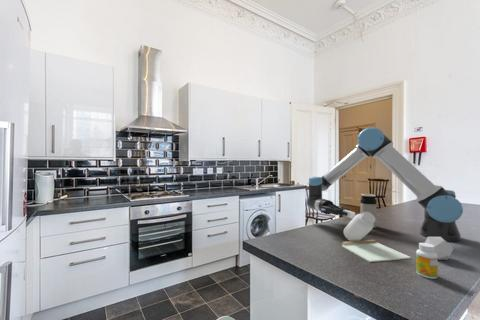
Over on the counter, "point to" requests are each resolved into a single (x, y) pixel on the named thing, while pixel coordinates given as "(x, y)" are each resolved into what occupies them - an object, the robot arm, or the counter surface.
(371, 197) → the travel mug
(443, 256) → the die
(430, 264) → the supplement bottle
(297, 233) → the counter surface
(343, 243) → the stop strip
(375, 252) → the mat
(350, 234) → the pill bottle
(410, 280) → the counter surface
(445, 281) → the counter surface
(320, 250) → the counter surface
